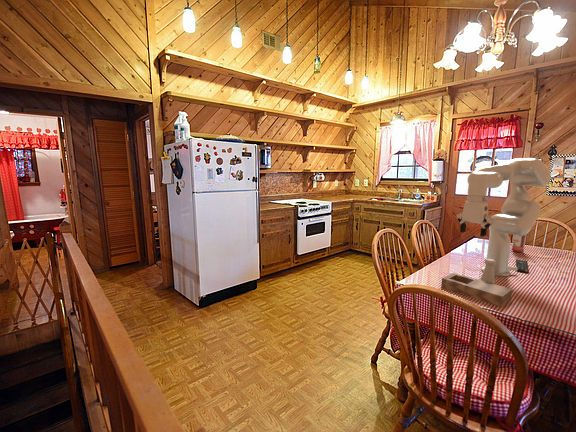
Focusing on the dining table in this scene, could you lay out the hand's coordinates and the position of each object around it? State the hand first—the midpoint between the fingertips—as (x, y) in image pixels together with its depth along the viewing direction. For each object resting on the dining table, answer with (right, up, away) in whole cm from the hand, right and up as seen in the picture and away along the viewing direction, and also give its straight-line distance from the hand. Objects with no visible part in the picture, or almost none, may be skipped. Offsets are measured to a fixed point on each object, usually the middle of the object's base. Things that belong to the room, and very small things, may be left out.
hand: (472, 234), depth 140 cm
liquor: (+65, -16, +54) cm, 86 cm away
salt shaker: (+6, -25, -1) cm, 26 cm away
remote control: (+44, -21, +25) cm, 55 cm away
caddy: (-5, -26, -10) cm, 28 cm away
